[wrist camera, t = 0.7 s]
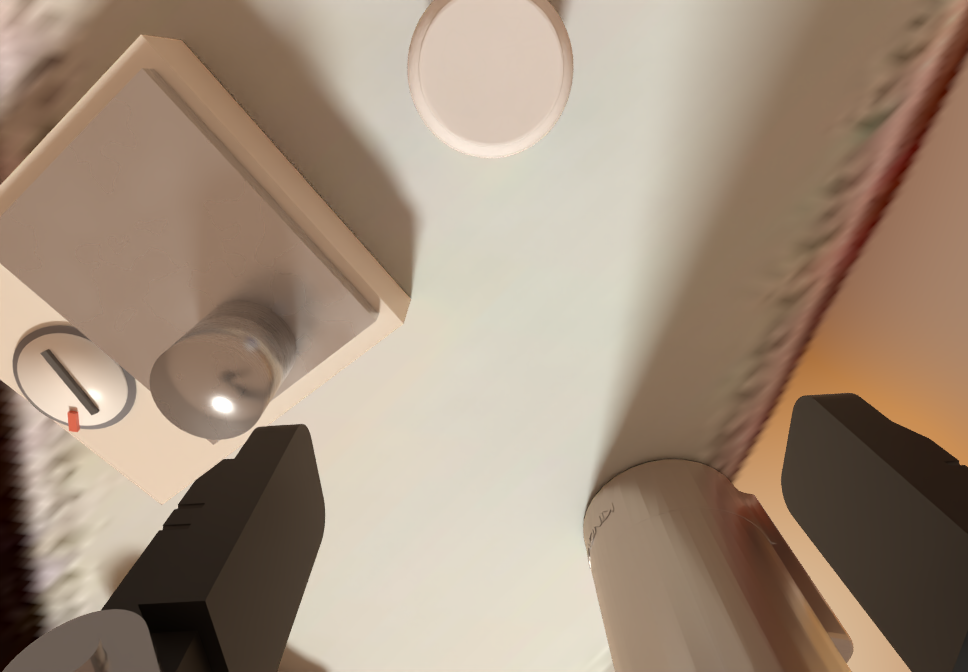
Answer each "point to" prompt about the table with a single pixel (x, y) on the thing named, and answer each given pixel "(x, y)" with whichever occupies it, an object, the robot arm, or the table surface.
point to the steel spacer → (224, 371)
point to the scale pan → (169, 239)
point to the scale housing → (97, 377)
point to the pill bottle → (490, 73)
